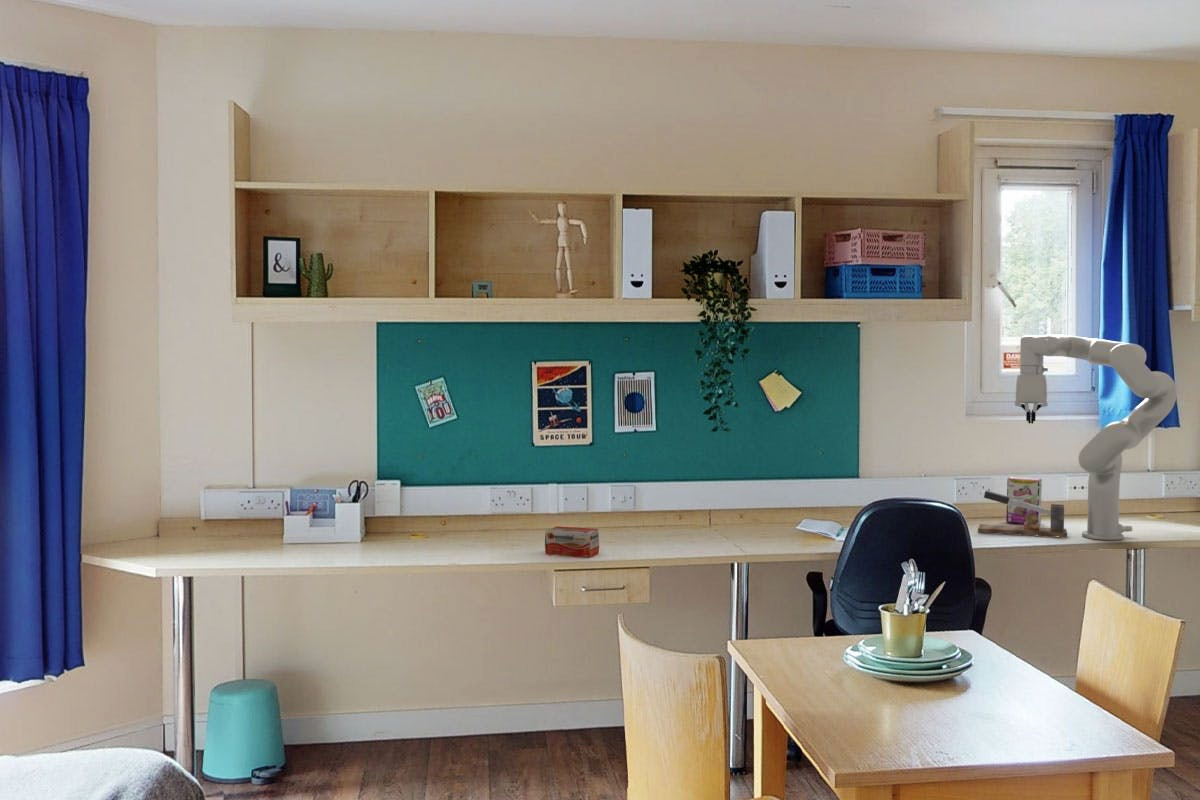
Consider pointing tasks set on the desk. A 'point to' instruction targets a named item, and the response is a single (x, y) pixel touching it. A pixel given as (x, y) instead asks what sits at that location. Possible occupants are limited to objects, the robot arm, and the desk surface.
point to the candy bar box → (1023, 498)
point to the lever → (1015, 502)
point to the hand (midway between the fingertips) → (1030, 423)
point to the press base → (1019, 530)
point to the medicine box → (572, 542)
